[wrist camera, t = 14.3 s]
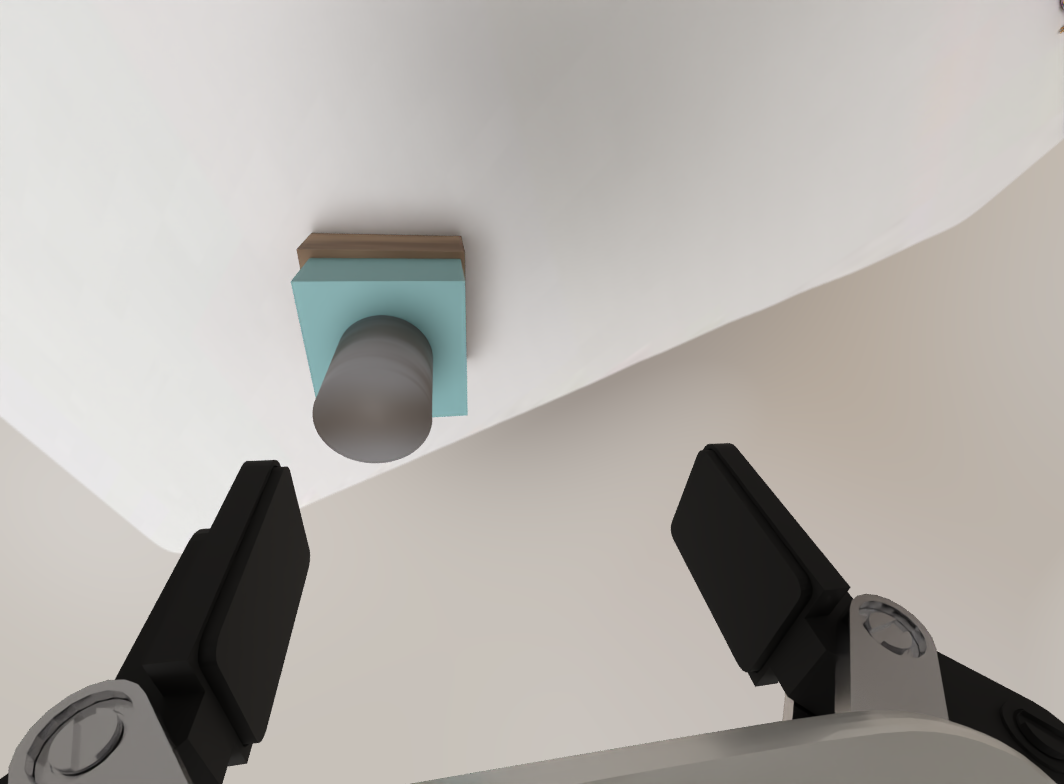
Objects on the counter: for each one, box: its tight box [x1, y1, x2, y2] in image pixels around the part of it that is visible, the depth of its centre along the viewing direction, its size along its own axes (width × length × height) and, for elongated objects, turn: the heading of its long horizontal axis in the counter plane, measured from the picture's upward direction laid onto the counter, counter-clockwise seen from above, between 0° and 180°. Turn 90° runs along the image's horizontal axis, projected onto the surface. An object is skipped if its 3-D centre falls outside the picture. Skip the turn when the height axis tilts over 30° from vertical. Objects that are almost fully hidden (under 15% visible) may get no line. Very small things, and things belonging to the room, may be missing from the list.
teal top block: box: [291, 258, 467, 417], centre depth 33 cm, size 10×10×5 cm
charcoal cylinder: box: [313, 315, 433, 463], centre depth 28 cm, size 6×6×7 cm
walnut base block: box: [297, 233, 465, 278], centre depth 37 cm, size 11×11×5 cm
